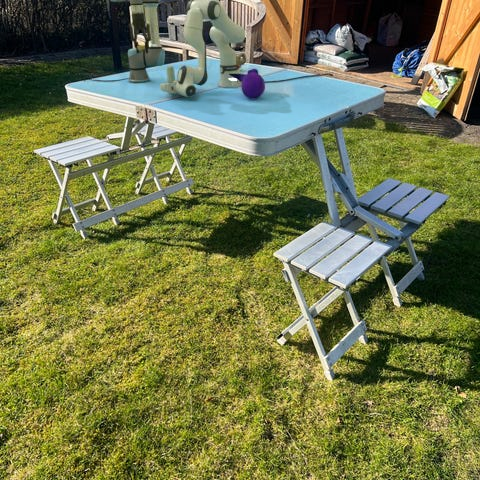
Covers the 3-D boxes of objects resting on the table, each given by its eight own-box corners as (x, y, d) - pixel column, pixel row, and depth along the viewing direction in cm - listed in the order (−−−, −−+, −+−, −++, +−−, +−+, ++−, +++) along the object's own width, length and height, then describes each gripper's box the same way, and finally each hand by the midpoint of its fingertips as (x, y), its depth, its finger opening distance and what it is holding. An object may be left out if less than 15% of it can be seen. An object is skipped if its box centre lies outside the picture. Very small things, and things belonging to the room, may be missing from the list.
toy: (250, 90, 302) (265, 104, 282) (225, 86, 295) (239, 99, 274) (256, 66, 294) (272, 78, 274) (231, 61, 287) (246, 73, 266)
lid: (143, 48, 291) (143, 44, 290) (148, 48, 287) (147, 45, 286) (136, 48, 288) (135, 45, 287) (140, 49, 284) (139, 46, 283)
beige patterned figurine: (226, 73, 360) (225, 53, 353) (219, 71, 369) (219, 51, 361) (249, 70, 370) (249, 50, 362) (242, 68, 378) (241, 49, 371)
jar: (175, 94, 298) (172, 67, 289) (168, 94, 299) (165, 67, 290) (176, 92, 302) (174, 65, 294) (169, 92, 303) (167, 66, 294)
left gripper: (121, 13, 275) (126, 53, 287) (150, 13, 272) (154, 54, 284) (125, 12, 281) (131, 52, 293) (154, 12, 278) (158, 52, 290)
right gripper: (194, 79, 291) (184, 76, 301) (165, 83, 281) (156, 80, 292) (194, 89, 294) (185, 86, 304) (166, 93, 285) (157, 90, 295)
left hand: (142, 52), depth 288 cm, fingers closed on lid, 5 cm apart
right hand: (171, 83), depth 298 cm, fingers closed on jar, 5 cm apart
